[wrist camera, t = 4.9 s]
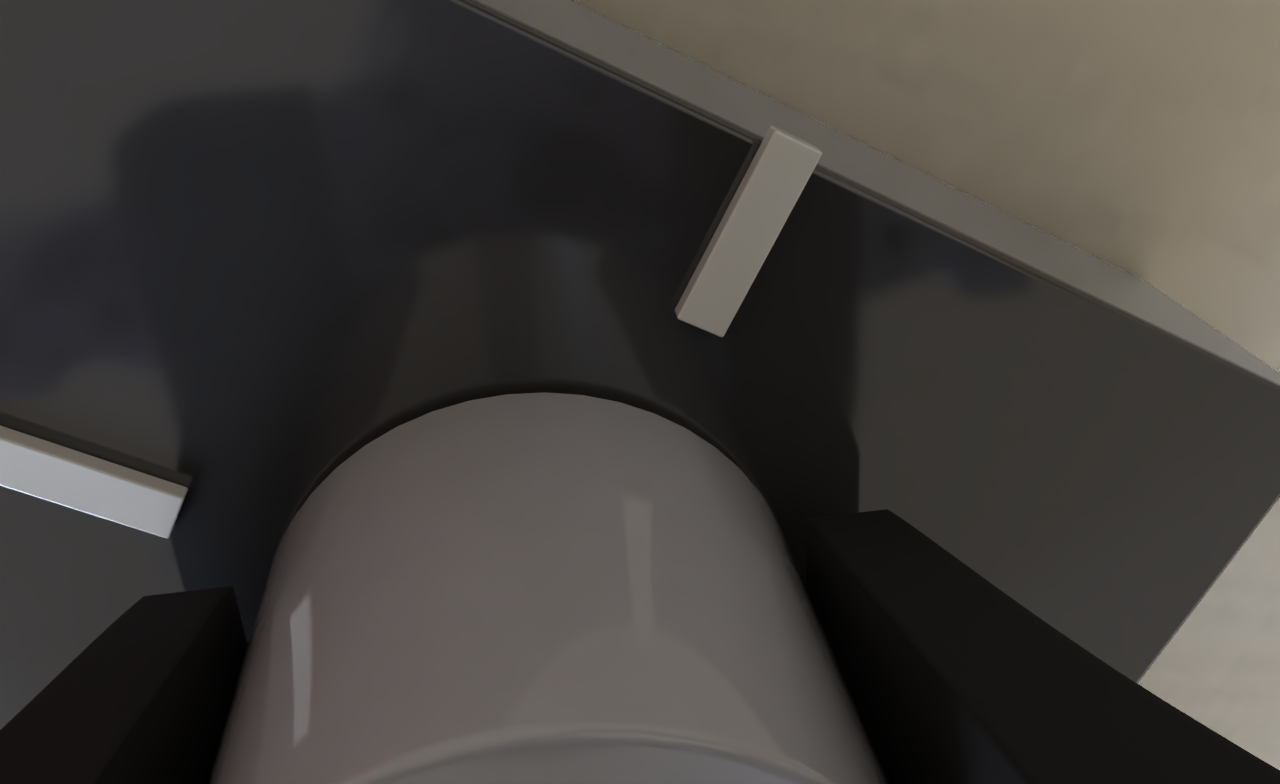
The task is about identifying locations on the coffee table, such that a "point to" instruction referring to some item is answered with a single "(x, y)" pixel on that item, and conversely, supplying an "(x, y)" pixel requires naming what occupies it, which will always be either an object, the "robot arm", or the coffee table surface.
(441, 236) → the hob panel
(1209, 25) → the coffee table surface
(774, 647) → the stove knob
